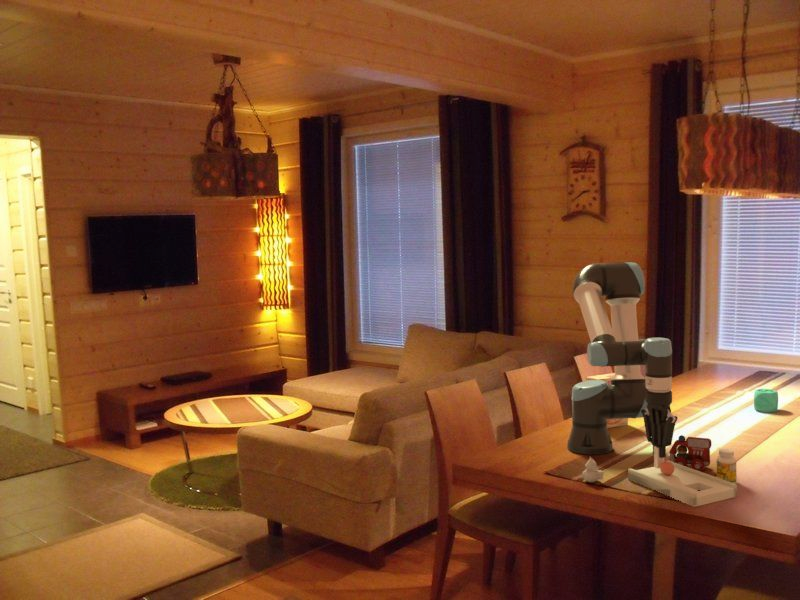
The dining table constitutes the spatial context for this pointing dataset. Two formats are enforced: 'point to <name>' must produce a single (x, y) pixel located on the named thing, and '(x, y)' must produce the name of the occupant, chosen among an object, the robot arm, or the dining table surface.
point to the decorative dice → (766, 400)
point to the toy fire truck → (691, 452)
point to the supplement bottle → (726, 465)
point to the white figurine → (592, 472)
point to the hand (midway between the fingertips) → (659, 467)
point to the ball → (667, 468)
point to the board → (685, 484)
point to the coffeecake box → (607, 379)
